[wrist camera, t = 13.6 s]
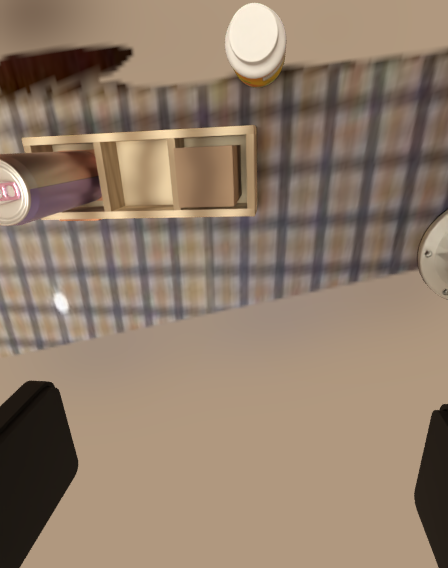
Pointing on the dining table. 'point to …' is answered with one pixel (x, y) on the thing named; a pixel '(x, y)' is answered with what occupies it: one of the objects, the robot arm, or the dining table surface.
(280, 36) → the supplement bottle
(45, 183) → the beverage can
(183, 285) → the dining table surface
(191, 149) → the walnut block
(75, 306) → the dining table surface
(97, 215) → the rack
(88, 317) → the dining table surface
